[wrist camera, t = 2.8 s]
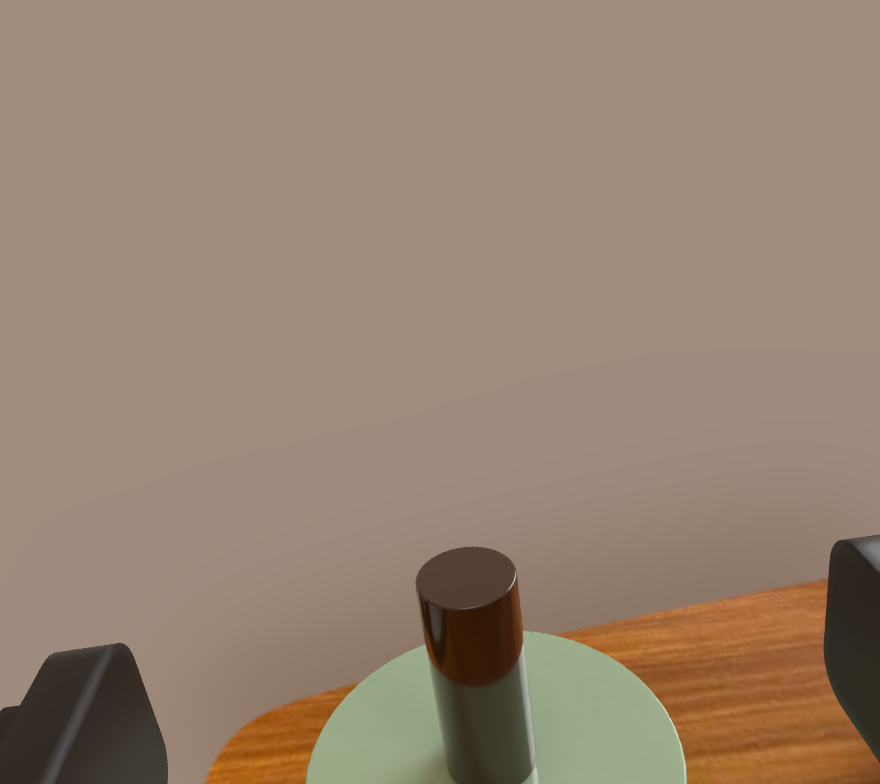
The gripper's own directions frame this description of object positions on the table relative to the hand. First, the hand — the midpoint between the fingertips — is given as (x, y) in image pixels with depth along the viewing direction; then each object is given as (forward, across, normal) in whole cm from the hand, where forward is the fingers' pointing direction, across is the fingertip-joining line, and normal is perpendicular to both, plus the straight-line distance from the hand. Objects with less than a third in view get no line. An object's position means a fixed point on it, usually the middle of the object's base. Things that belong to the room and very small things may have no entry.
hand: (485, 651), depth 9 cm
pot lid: (+11, 0, +14) cm, 18 cm away
